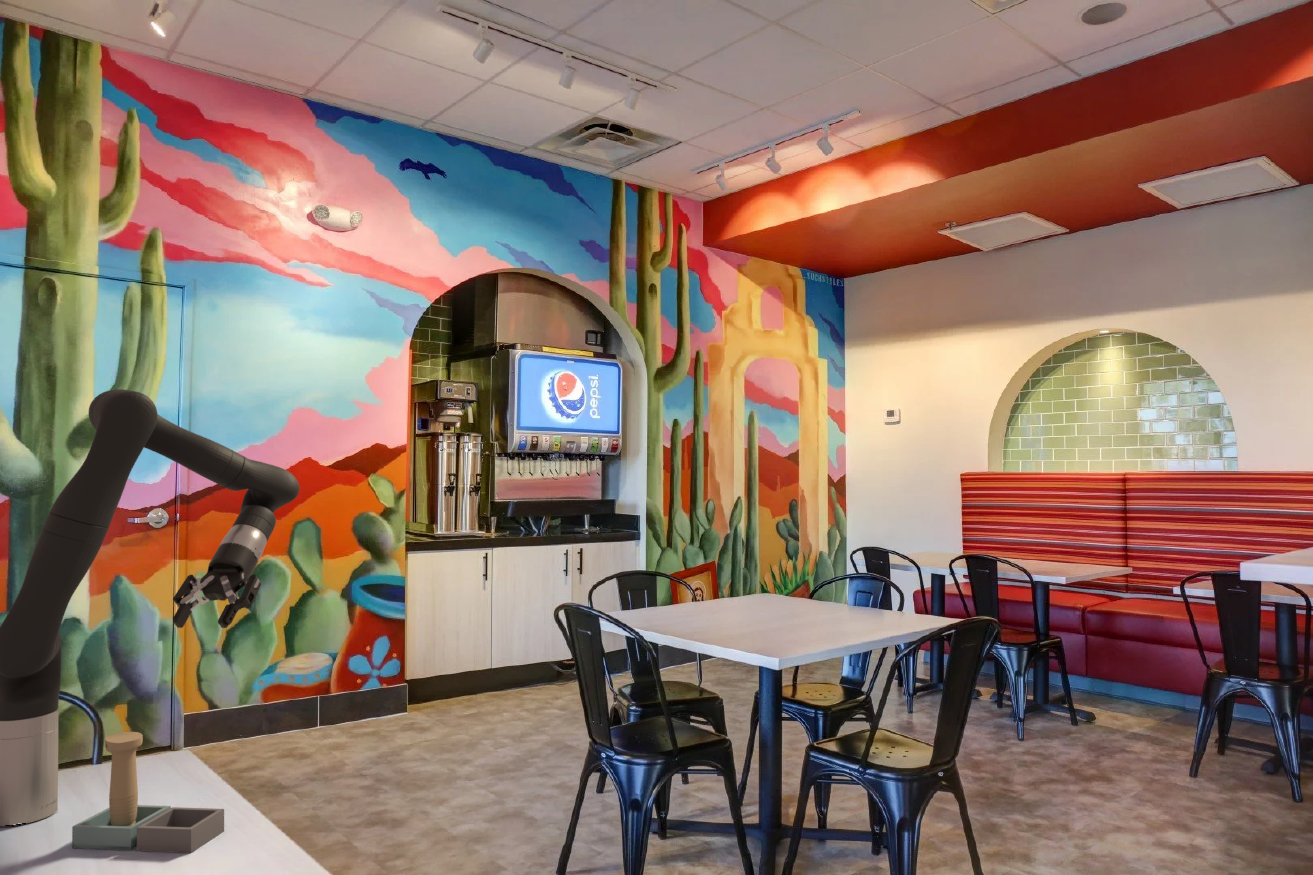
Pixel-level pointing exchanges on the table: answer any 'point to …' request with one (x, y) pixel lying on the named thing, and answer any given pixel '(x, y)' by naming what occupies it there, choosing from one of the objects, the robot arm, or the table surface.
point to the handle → (123, 777)
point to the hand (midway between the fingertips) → (199, 625)
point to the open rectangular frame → (180, 830)
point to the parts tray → (112, 830)
